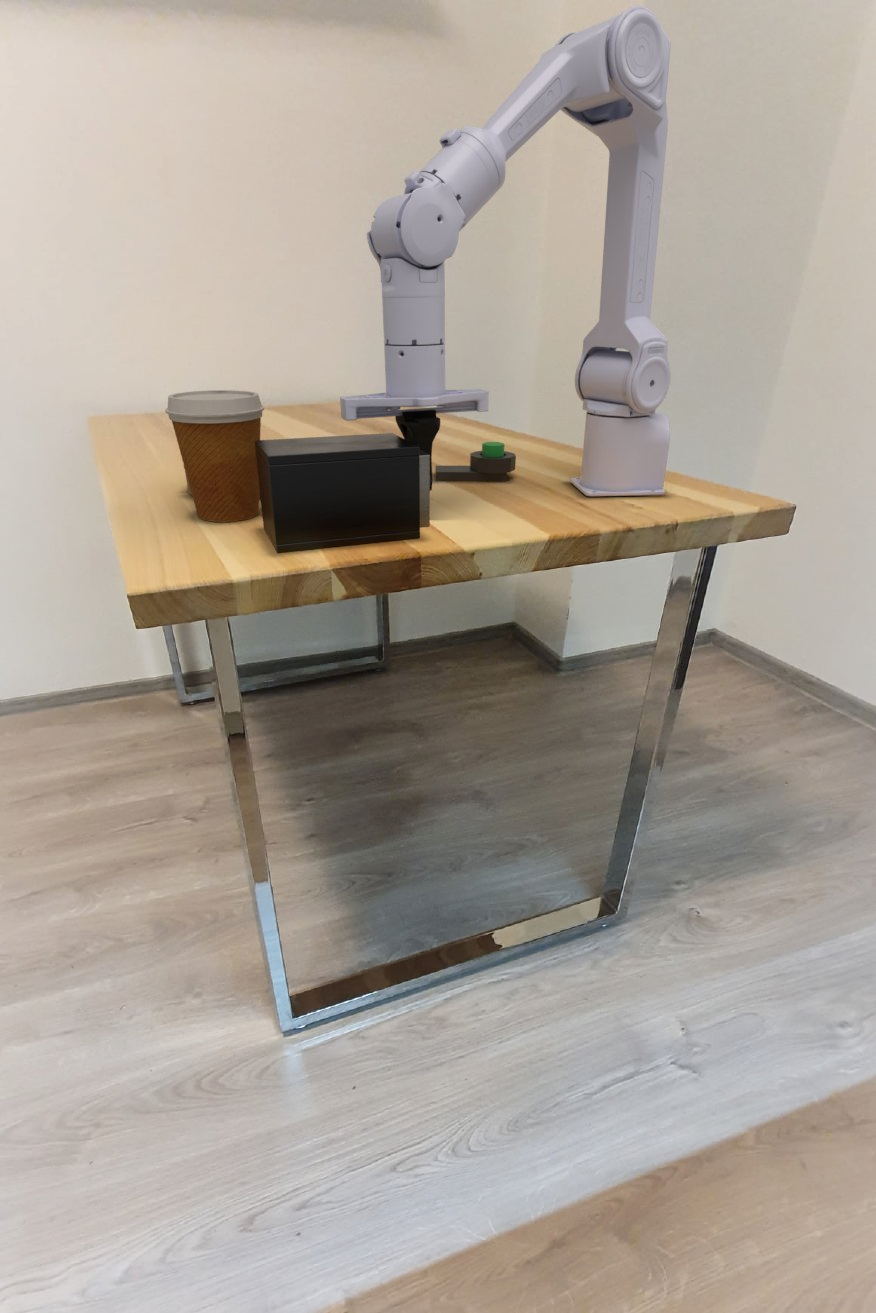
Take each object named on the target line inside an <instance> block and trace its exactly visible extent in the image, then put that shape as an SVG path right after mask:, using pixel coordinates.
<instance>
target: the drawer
mask: <svg viewBox="0 0 876 1313" xmlns="http://www.w3.org/2000/svg"><path fill="white" fill-rule="evenodd" d="M419 451H420V455H419V457H420V529H421V528H429V527H430V524H431V519H430V518H431V517H430V516H431V512H430V511H431V508H430V507H431V498H430V497H431V491H432V490H433V479H432V480H431V477H430V455H428V454H426V453H425V452H423V451H421V450H419ZM431 489H432V490H431Z"/></svg>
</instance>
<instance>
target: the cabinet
mask: <svg viewBox="0 0 876 1313" xmlns="http://www.w3.org/2000/svg"><path fill="white" fill-rule="evenodd" d="M255 449H256V460H257V470H258V479H259V489H260V498H259V499H260V506H261V516H262V517H261V518H262V525H263V526H262V527H263V530H264V532H265V534H266V536H267V538H268V539H269V541H270V543H271V544H272V547H273V548H274V550H275V552H276V554H286V553H297V552H306V551H314V550H317V551H318V550H324V549H334V548H343V547H344V548H345V547H352V546H353V547H354V546H355V547H356V546H364V545H373V544H382V543H383V544H384V543H392V542H402V541H403V542H404V541H410V540H420V539H421V528H420V457H419V455H420V451H419V447H418V446H416V445H415V444H413V443H411V442H409V441H407V440H405V439H404V437H401V436H399V435H397V434H395V433H393V432H385V433H383V432H382V433H368V434H366V433H365V434H351V435H350V434H349V435H331V436H312V437H311V436H310V437H293V438H277V439H276V438H275V439H260V440H255Z"/></svg>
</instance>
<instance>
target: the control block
mask: <svg viewBox="0 0 876 1313" xmlns="http://www.w3.org/2000/svg"><path fill="white" fill-rule="evenodd" d="M516 463H517V456H516V454H515V453H514V452H512V451H507V450H504V456H502V457H486V456H482V450H477V451H473V452H470V453H469V465H435V467H434V468H435V469H434V470H435V471H434V472H435V473H434V474H435V475H434V476H435V478H434V479H435V482H507V480H508V473H512V472H514V471H516Z"/></svg>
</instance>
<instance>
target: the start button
mask: <svg viewBox="0 0 876 1313" xmlns="http://www.w3.org/2000/svg"><path fill="white" fill-rule="evenodd" d="M481 451H482V456H486V457H502V456H504V451H505V443H503V442H499V441H486V442H483V443H482V444H481Z"/></svg>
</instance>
